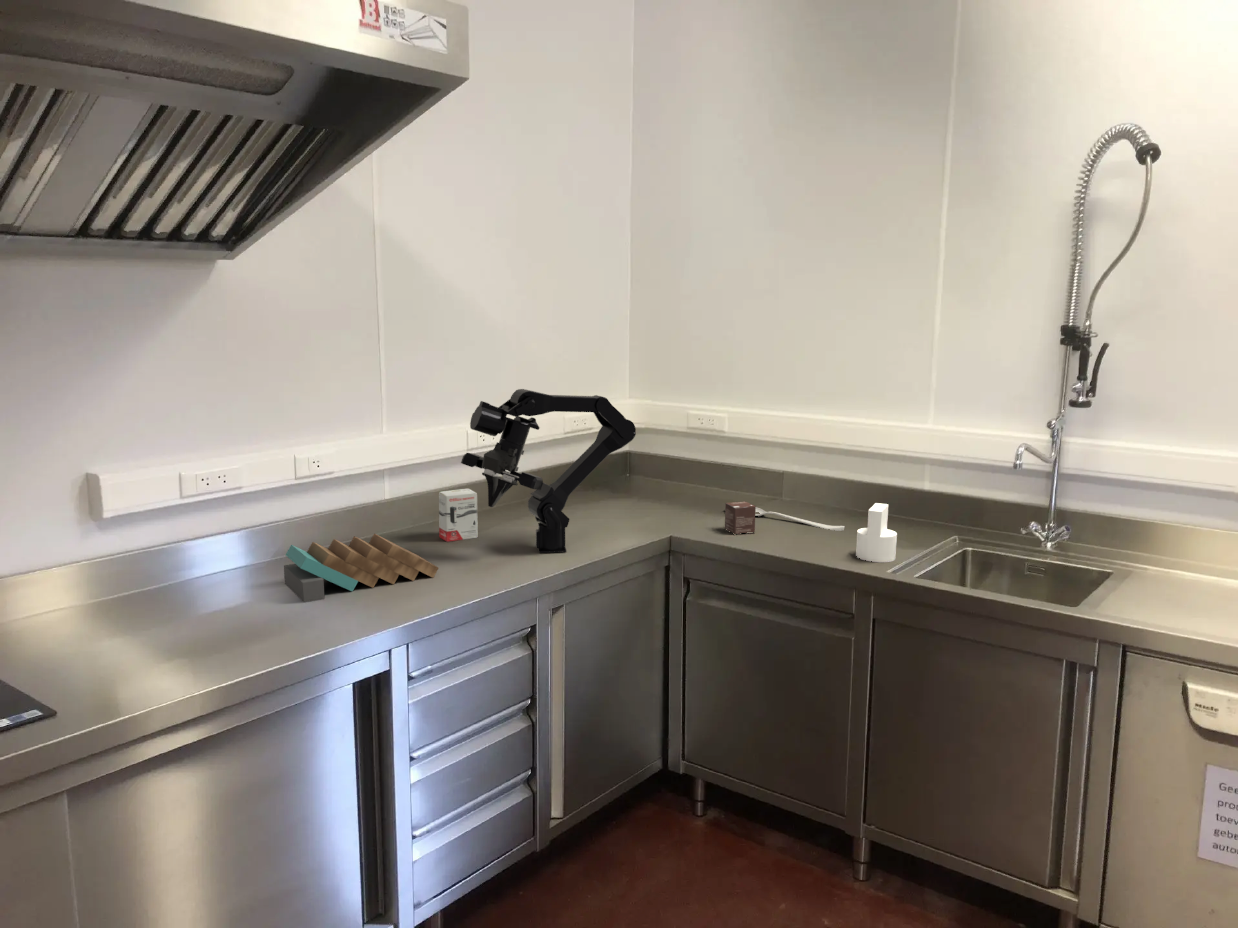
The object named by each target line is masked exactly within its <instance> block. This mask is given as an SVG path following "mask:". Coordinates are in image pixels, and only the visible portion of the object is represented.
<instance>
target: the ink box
mask: <svg viewBox="0 0 1238 928" xmlns="http://www.w3.org/2000/svg"><path fill="white" fill-rule="evenodd" d="M438 517H439V518H438V530H439V531H438V534H439V536H438V537H439V539H441V540H443V541H445V542H447V543H448V542H455V541H462V540H469V539H476V538H478V533H479V532H478V531H479V529H478V525H479V524H478V493H477V492H476V491H474V490H473V489H470V488H460V489H453V490H451V489H450V490H444V491H440V492H438Z"/></svg>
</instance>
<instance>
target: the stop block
mask: <svg viewBox="0 0 1238 928" xmlns="http://www.w3.org/2000/svg"><path fill="white" fill-rule="evenodd" d="M283 574H284V575H283V576H284V578H283V579H284V585H285V586H286V587H287V588H288V589H289V590H291V592H292V593H294V594H295V596H297V597H298V598H299V599H300V600H301V601H302V602H303V603H308V602H315V601H319V600H324V599H325V582H324V580H325V579H323V578H321V577H319V576H317V575H314V574H312V573H310V572H308V571H306V570H303V569H301V568H300V567H299V566H297V565H296V564H295V563H290V564H284V565H283Z"/></svg>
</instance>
